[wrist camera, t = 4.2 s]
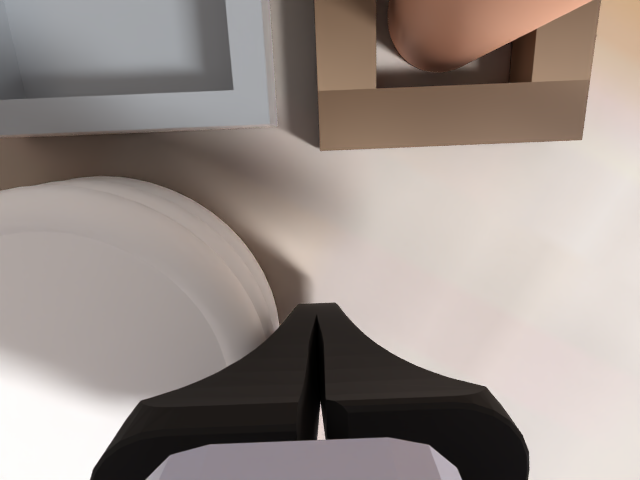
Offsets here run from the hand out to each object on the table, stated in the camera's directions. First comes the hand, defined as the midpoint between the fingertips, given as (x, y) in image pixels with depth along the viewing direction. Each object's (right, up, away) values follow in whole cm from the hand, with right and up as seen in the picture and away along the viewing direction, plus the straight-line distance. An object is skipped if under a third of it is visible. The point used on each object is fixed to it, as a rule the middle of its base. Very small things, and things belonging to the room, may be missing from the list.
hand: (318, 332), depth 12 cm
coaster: (-6, 0, +1) cm, 6 cm away
